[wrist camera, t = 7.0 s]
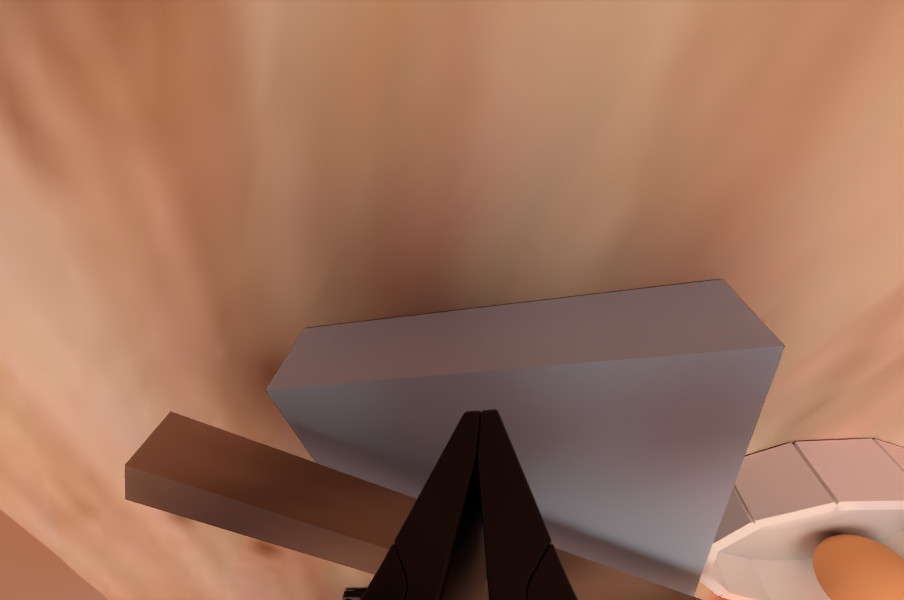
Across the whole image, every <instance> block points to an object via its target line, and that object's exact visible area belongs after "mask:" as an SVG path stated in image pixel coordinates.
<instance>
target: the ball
mask: <svg viewBox="0 0 904 600" xmlns="http://www.w3.org/2000/svg"><path fill="white" fill-rule="evenodd" d="M813 568H814V572H815V575H816V578H817V580H818V582H819V584H820V586H821V587H822V589H823V590H824V591H825V593H826V594H827V595H828V597H829V598H830V599H831V600H904V559H903V558H902V557H900V556H899V555H898V554H897V553H895V552H894V551H892V550H891V549H889V548H888V547H886V546H884V545H882V544H881V543H879V542H876V541H874V540H872V539H869V538H866V537H862V536H858V535H852V534H839V535H834V536H830V537H828V538H826V539H824V540H823V541H822V542H820V543H819V545H818V546H817V547H816V549H815V552H814V555H813Z"/></svg>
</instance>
